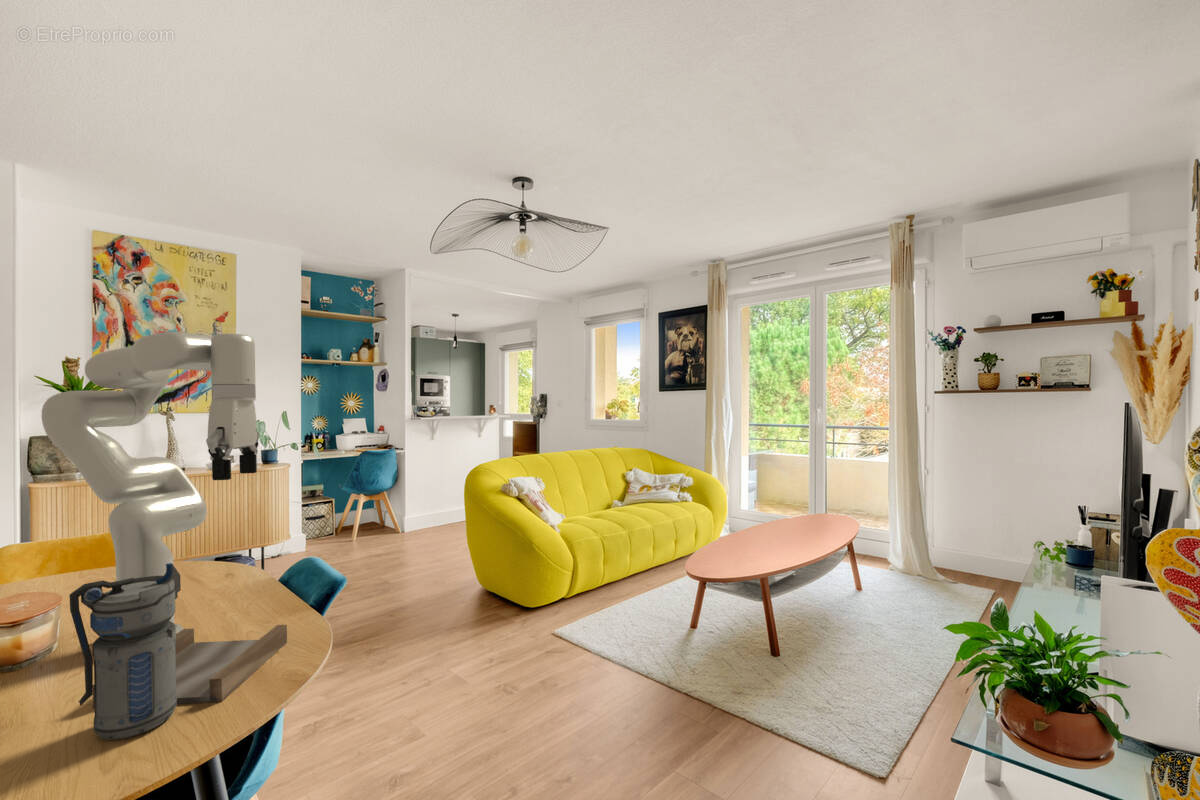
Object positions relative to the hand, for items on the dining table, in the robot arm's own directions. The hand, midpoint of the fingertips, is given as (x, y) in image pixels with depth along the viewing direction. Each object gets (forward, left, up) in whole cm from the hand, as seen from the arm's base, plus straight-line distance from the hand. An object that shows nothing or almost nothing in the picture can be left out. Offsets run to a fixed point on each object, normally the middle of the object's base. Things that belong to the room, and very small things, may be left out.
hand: (235, 476), depth 109 cm
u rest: (-3, -7, -37) cm, 38 cm away
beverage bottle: (-3, -24, -37) cm, 44 cm away
